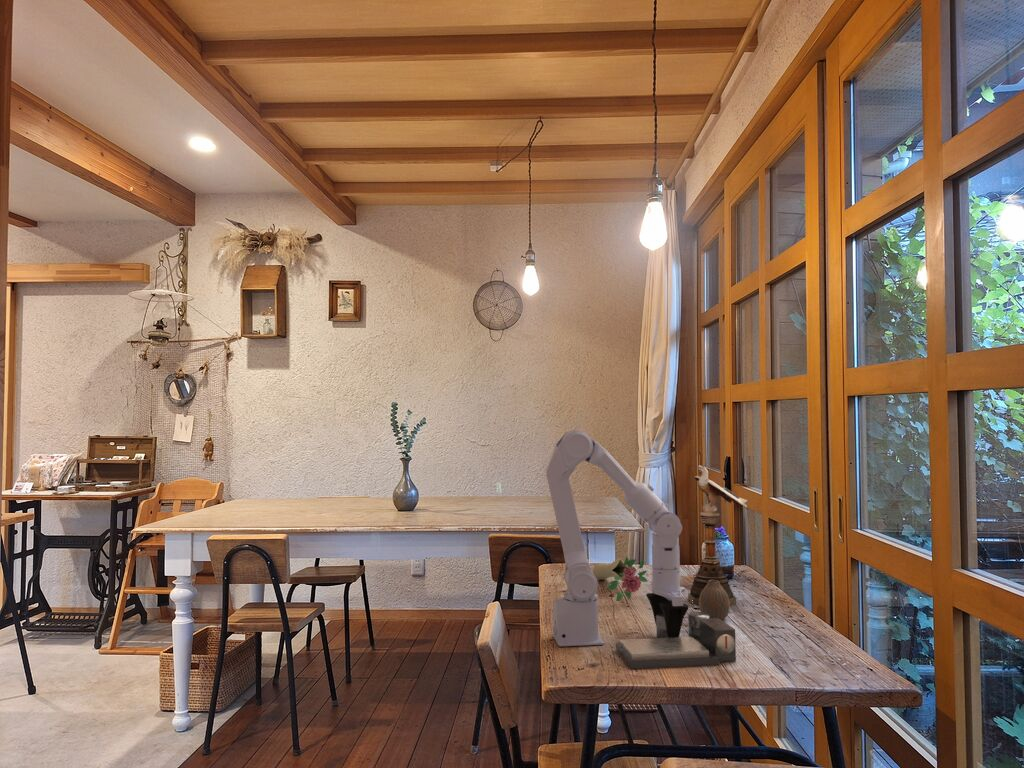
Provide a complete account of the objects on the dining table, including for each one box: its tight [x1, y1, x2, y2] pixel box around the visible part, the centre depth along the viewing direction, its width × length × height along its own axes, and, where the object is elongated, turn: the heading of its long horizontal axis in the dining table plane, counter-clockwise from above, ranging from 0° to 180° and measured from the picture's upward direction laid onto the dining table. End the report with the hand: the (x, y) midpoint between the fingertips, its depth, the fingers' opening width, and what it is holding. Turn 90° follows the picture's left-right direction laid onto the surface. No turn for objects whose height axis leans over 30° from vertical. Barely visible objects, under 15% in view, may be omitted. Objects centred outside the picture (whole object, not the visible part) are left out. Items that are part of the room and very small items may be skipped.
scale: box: [615, 618, 737, 670], centre depth 141 cm, size 21×11×6 cm, turn 96°
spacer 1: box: [655, 613, 668, 638], centre depth 152 cm, size 4×4×5 cm
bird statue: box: [687, 464, 749, 607], centre depth 185 cm, size 17×13×35 cm
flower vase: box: [592, 556, 649, 602], centre depth 193 cm, size 12×12×35 cm
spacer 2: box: [687, 611, 710, 641], centre depth 153 cm, size 4×4×5 cm
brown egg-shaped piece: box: [698, 580, 731, 621], centre depth 168 cm, size 7×7×9 cm
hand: (667, 632), depth 152 cm, fingers open, 7 cm apart
